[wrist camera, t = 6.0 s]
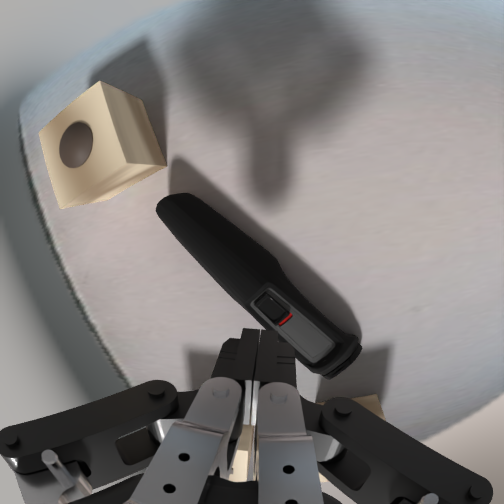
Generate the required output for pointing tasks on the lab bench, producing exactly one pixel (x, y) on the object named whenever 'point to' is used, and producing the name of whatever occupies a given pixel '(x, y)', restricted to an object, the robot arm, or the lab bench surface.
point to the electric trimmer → (258, 284)
